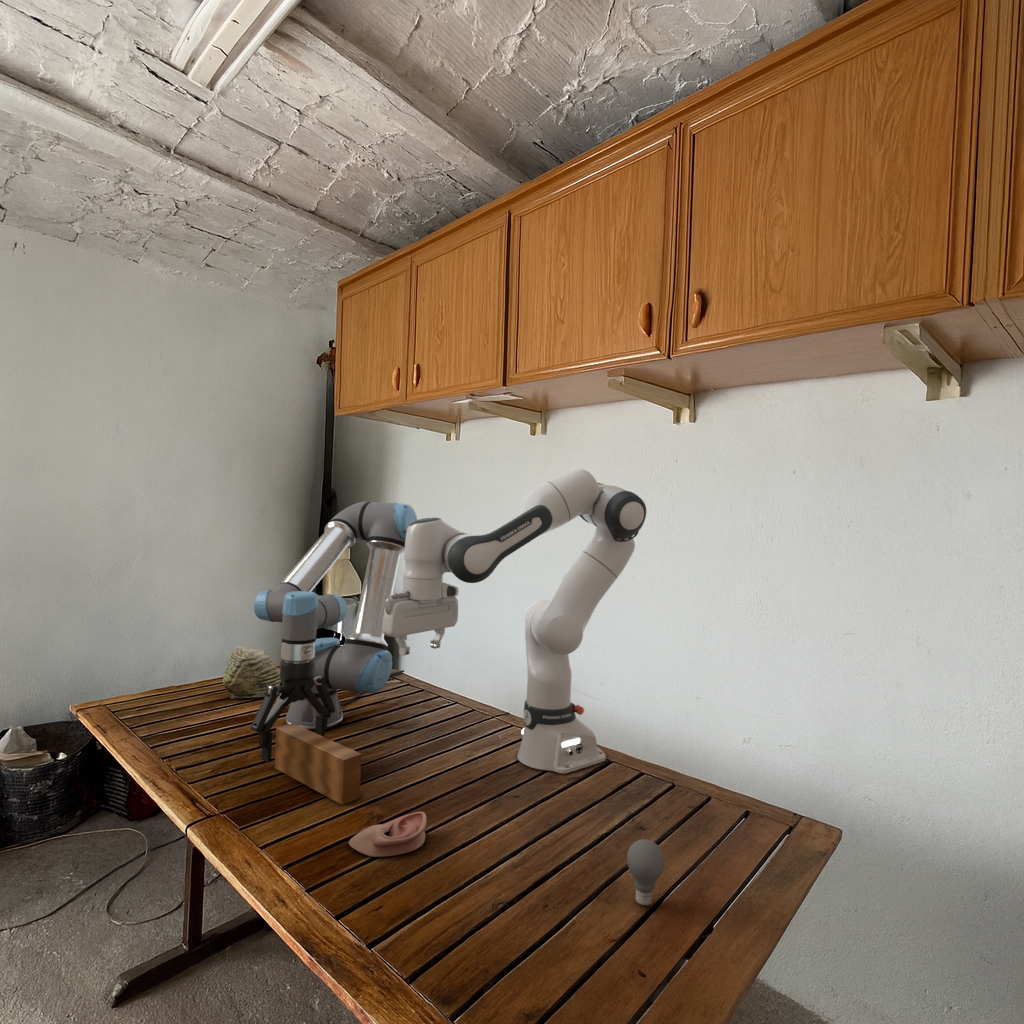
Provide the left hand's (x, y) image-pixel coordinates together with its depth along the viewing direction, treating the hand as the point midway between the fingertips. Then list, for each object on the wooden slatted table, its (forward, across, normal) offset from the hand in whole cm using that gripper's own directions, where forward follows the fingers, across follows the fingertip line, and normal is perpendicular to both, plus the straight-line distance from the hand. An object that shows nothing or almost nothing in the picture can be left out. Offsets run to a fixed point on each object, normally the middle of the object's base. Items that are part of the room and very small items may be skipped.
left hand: (293, 752), depth 145 cm
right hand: (-25, +16, -24) cm, 38 cm away
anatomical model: (+5, -4, -39) cm, 39 cm away
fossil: (+4, +22, +57) cm, 61 cm away
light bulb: (+5, +12, -83) cm, 84 cm away
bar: (+4, 0, -8) cm, 9 cm away
